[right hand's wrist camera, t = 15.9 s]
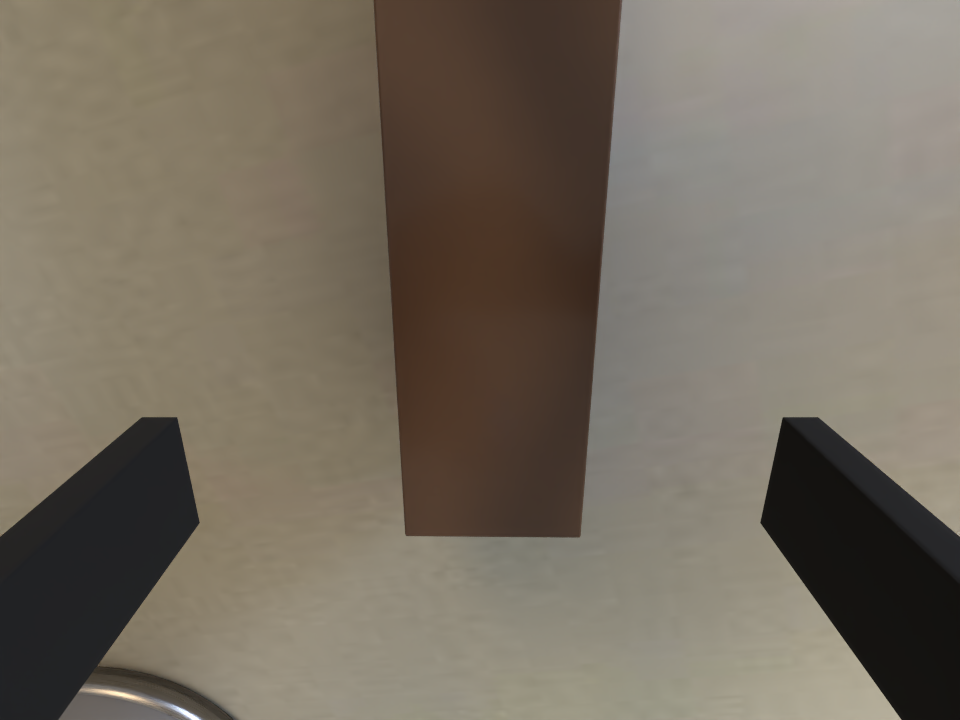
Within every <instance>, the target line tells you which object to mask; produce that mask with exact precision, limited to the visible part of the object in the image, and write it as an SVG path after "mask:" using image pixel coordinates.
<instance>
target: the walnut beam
mask: <svg viewBox="0 0 960 720" xmlns="http://www.w3.org/2000/svg"><path fill="white" fill-rule="evenodd" d="M621 7H622V0H374V16H375V33H376V50H377V67H378V83H379V100H380V117H381V134H382V151H383V168H384V184H385V201H386V218H387V235H388V252H389V269H390V285H391V302H392V319H393V336H394V353H395V370H396V386H397V403H398V420H399V437H400V454H401V471H402V487H403V504H404V521H405V534H406V536H469V537H580V535H581V523H582V510H583V497H584V484H585V471H586V458H587V445H588V432H589V420H590V407H591V394H592V381H593V368H594V355H595V342H596V329H597V316H598V304H599V291H600V278H601V265H602V252H603V239H604V226H605V213H606V200H607V188H608V175H609V162H610V149H611V136H612V123H613V110H614V97H615V84H616V72H617V59H618V46H619V33H620V20H621Z"/></svg>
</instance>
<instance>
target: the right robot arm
mask: <svg viewBox="0 0 960 720" xmlns="http://www.w3.org/2000/svg"><path fill="white" fill-rule="evenodd" d="M760 523H761V524H762V526H763V527H764V529H765V530H766V531H767V533H768V534H769V536H770V537H771V538H772V540H773V541H774V543H775V544H776V545H777V547H778V548H779V549H780V551H781V552H782V554H783V555H784V556H785V558H786V559H787V561H788V562H789V563H790V565H791V566H792V568H793V569H794V570H795V572H796V573H797V575H798V576H799V577H800V579H801V580H802V582H803V583H804V584H805V586H806V587H807V589H808V590H809V591H810V593H811V594H812V595H813V597H814V598H815V600H816V601H817V602H818V604H819V605H820V607H821V608H822V609H823V611H824V612H825V614H826V615H827V616H828V618H829V619H830V621H831V622H832V623H833V625H834V626H835V628H836V629H837V630H838V632H839V633H840V635H841V636H842V637H843V639H844V640H845V641H846V643H847V644H848V646H849V647H850V648H851V650H852V651H853V653H854V654H855V655H856V657H857V658H858V660H859V661H860V662H861V664H862V665H863V667H864V668H865V669H866V671H867V672H868V674H869V675H870V676H871V678H872V679H873V680H874V682H875V683H876V685H877V686H878V687H879V689H880V690H881V692H882V693H883V694H884V696H885V697H886V699H887V700H888V701H889V703H890V704H891V706H892V707H893V708H894V710H895V711H896V713H897V714H898V715H899V717H900V718H901V720H960V537H959V536H958V535H957V534H956V533H954V532H953V531H952V530H951V529H950V528H949V527H947V526H946V525H945V524H944V523H943V522H941V521H940V520H939V519H938V518H937V517H935V516H934V515H933V514H932V513H931V512H930V511H928V510H927V509H926V508H925V507H924V506H922V505H921V504H920V503H919V502H918V501H917V500H915V499H914V498H913V497H912V496H911V495H909V494H908V493H907V492H906V491H905V490H904V489H902V488H901V487H900V486H899V485H898V484H896V483H895V482H894V481H893V480H892V479H890V478H889V477H888V476H887V475H886V474H885V473H883V472H882V471H881V470H880V469H879V468H877V467H876V466H875V465H874V464H873V463H872V462H870V461H869V460H868V459H867V458H866V457H864V456H863V455H862V454H861V453H860V452H858V451H857V450H856V449H855V448H854V447H853V446H851V445H850V444H849V443H848V442H847V441H845V440H844V439H843V438H842V437H841V436H840V435H838V434H837V433H836V432H835V431H834V430H832V429H831V428H830V427H829V426H828V425H827V424H825V423H824V422H823V421H822V420H821V419H819V418H818V417H783V419H782V424H781V428H780V433H779V438H778V442H777V447H776V452H775V457H774V461H773V466H772V471H771V475H770V480H769V485H768V490H767V494H766V499H765V504H764V508H763V513H762V518H761V522H760ZM198 524H199V518H198V513H197V508H196V504H195V499H194V494H193V490H192V485H191V480H190V475H189V471H188V466H187V461H186V457H185V452H184V447H183V442H182V438H181V433H180V428H179V424H178V419H177V417H142V418H141V419H139V420H138V421H137V422H136V423H135V424H133V425H132V426H131V427H130V428H129V429H128V430H126V431H125V432H124V433H123V434H122V435H120V436H119V437H118V438H117V439H116V440H115V441H113V442H112V443H111V444H110V445H109V446H107V447H106V448H105V449H104V450H103V451H102V452H100V453H99V454H98V455H97V456H96V457H94V458H93V459H92V460H91V461H90V462H88V463H87V464H86V465H85V466H84V467H83V468H81V469H80V470H79V471H78V472H77V473H75V474H74V475H73V476H72V477H71V478H70V479H68V480H67V481H66V482H65V483H64V484H62V485H61V486H60V487H59V488H58V489H56V490H55V491H54V492H53V493H52V494H51V495H49V496H48V497H47V498H46V499H45V500H43V501H42V502H41V503H40V504H39V505H38V506H36V507H35V508H34V509H33V510H32V511H30V512H29V513H28V514H27V515H26V516H25V517H23V518H22V519H21V520H20V521H19V522H17V523H16V524H15V525H14V526H13V527H11V528H10V529H9V530H8V531H7V532H6V533H4V534H3V535H2V536H1V537H0V720H233V719H232V718H231V717H229V716H228V715H227V714H226V713H225V712H223V711H222V710H221V709H220V708H218V707H217V706H216V705H214V704H213V703H211V702H210V701H208V700H207V699H205V698H203V697H202V696H200V695H198V694H196V693H194V692H192V691H191V690H188V689H186V688H184V687H182V686H180V685H177V684H175V683H173V682H170V681H167V680H164V679H162V678H159V677H155V676H152V675H148V674H144V673H140V672H136V671H131V670H125V669H118V668H110V667H97V665H98V664H99V662H100V661H101V660H102V658H103V657H104V655H105V654H106V653H107V651H108V650H109V648H110V647H111V646H112V644H113V643H114V641H115V640H116V639H117V637H118V636H119V634H120V633H121V632H122V630H123V629H124V628H125V626H126V625H127V623H128V622H129V621H130V619H131V618H132V616H133V615H134V614H135V612H136V611H137V609H138V608H139V607H140V605H141V604H142V602H143V601H144V600H145V598H146V597H147V595H148V594H149V593H150V591H151V590H152V589H153V587H154V586H155V584H156V583H157V582H158V580H159V579H160V577H161V576H162V575H163V573H164V572H165V570H166V569H167V568H168V566H169V565H170V563H171V562H172V561H173V559H174V558H175V556H176V555H177V554H178V552H179V551H180V549H181V548H182V547H183V545H184V544H185V543H186V541H187V540H188V538H189V537H190V536H191V534H192V533H193V531H194V530H195V529H196V527H197V526H198Z"/></svg>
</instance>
